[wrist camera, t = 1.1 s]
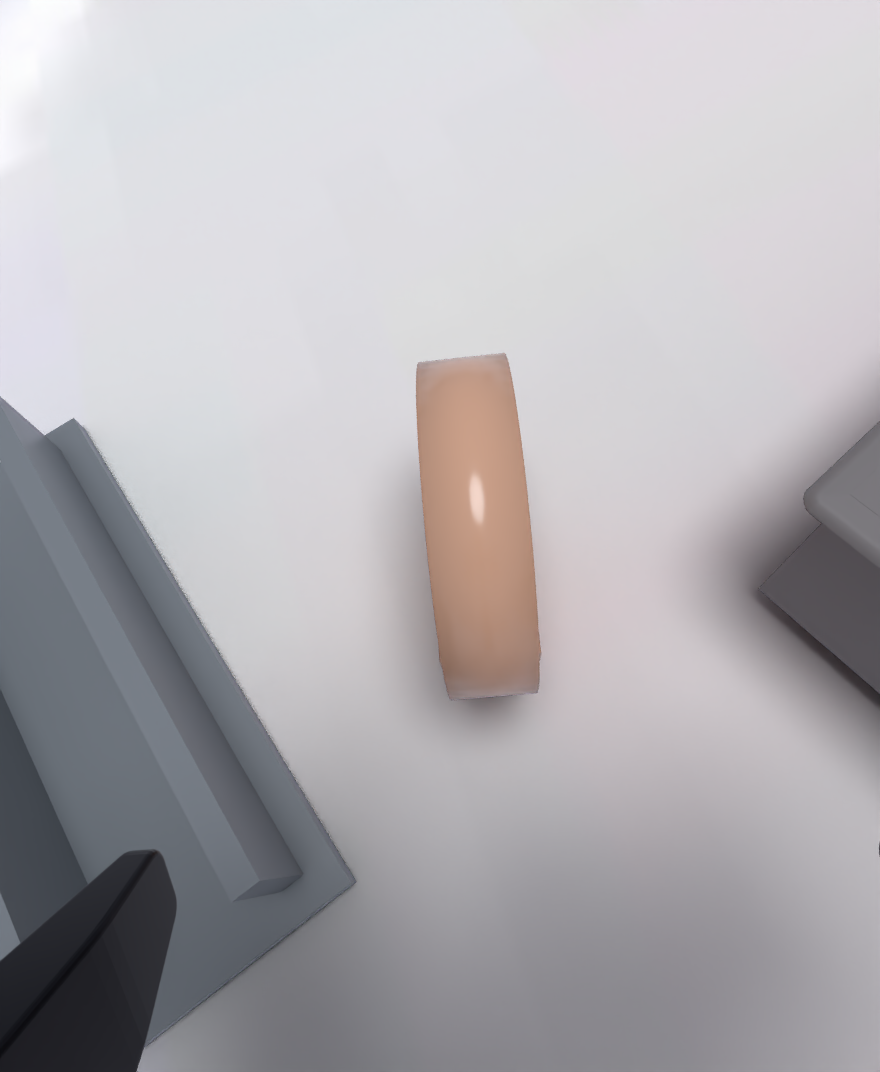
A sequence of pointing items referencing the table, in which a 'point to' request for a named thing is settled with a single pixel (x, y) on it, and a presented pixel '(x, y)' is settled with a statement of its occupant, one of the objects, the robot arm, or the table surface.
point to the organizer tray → (840, 562)
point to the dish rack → (133, 732)
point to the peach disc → (477, 527)
